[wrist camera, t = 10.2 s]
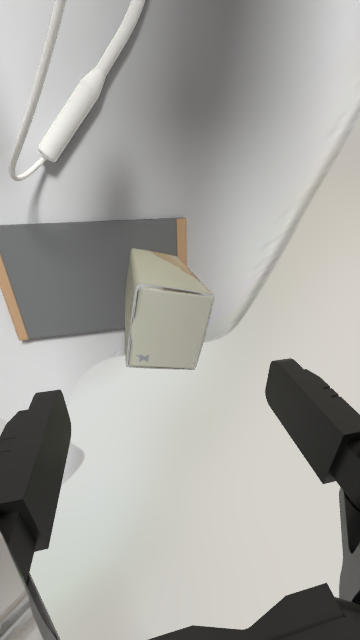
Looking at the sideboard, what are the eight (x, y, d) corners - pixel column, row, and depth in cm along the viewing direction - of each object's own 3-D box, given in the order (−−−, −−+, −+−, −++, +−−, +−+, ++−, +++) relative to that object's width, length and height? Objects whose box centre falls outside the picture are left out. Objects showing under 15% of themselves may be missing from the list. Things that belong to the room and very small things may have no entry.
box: (167, 305, 25) (195, 375, 16) (123, 300, 24) (123, 372, 14) (178, 252, 23) (217, 295, 13) (130, 244, 22) (135, 283, 12)
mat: (-17, 225, 20) (-21, 226, 19) (184, 217, 23) (185, 218, 22) (21, 336, 24) (19, 340, 24) (185, 319, 27) (186, 322, 26)
